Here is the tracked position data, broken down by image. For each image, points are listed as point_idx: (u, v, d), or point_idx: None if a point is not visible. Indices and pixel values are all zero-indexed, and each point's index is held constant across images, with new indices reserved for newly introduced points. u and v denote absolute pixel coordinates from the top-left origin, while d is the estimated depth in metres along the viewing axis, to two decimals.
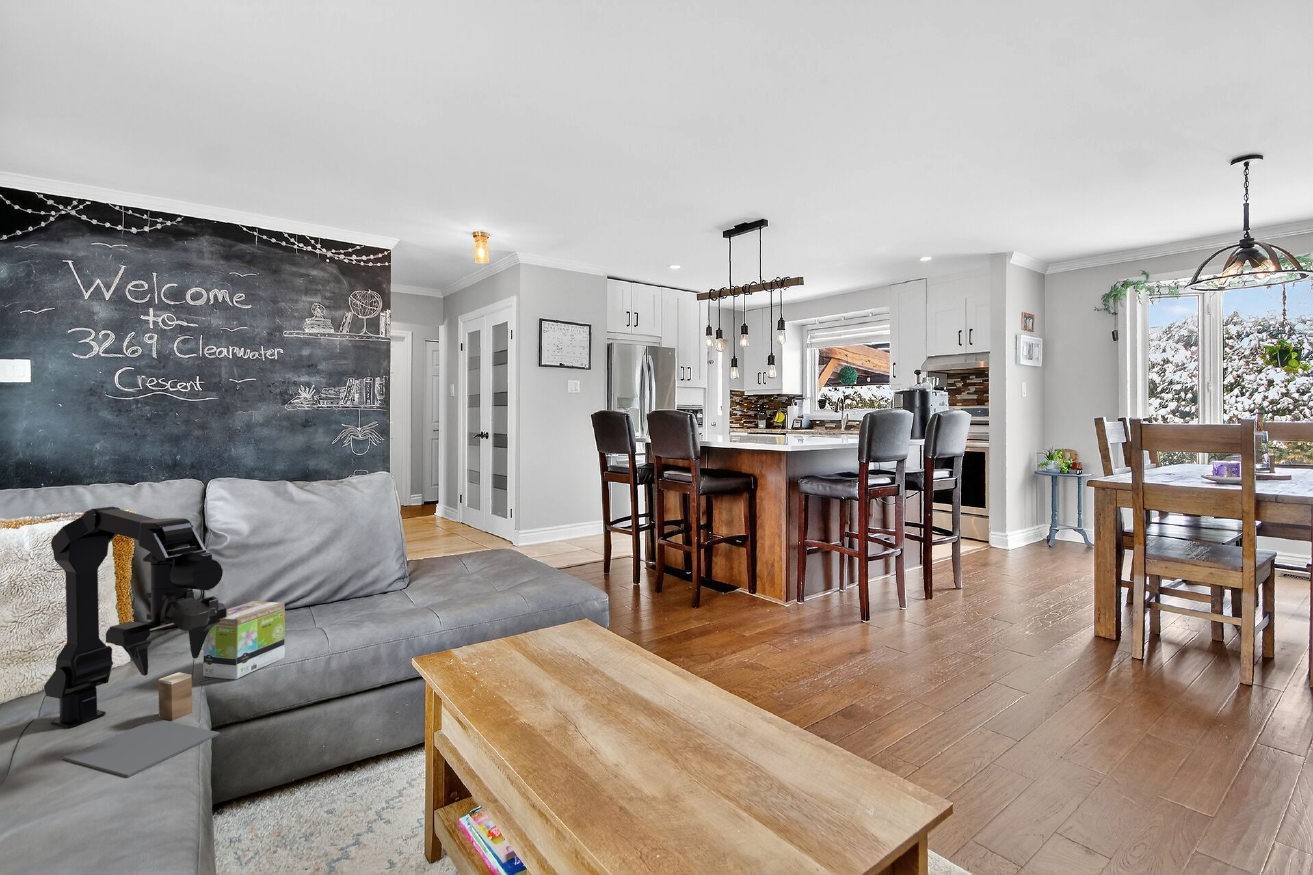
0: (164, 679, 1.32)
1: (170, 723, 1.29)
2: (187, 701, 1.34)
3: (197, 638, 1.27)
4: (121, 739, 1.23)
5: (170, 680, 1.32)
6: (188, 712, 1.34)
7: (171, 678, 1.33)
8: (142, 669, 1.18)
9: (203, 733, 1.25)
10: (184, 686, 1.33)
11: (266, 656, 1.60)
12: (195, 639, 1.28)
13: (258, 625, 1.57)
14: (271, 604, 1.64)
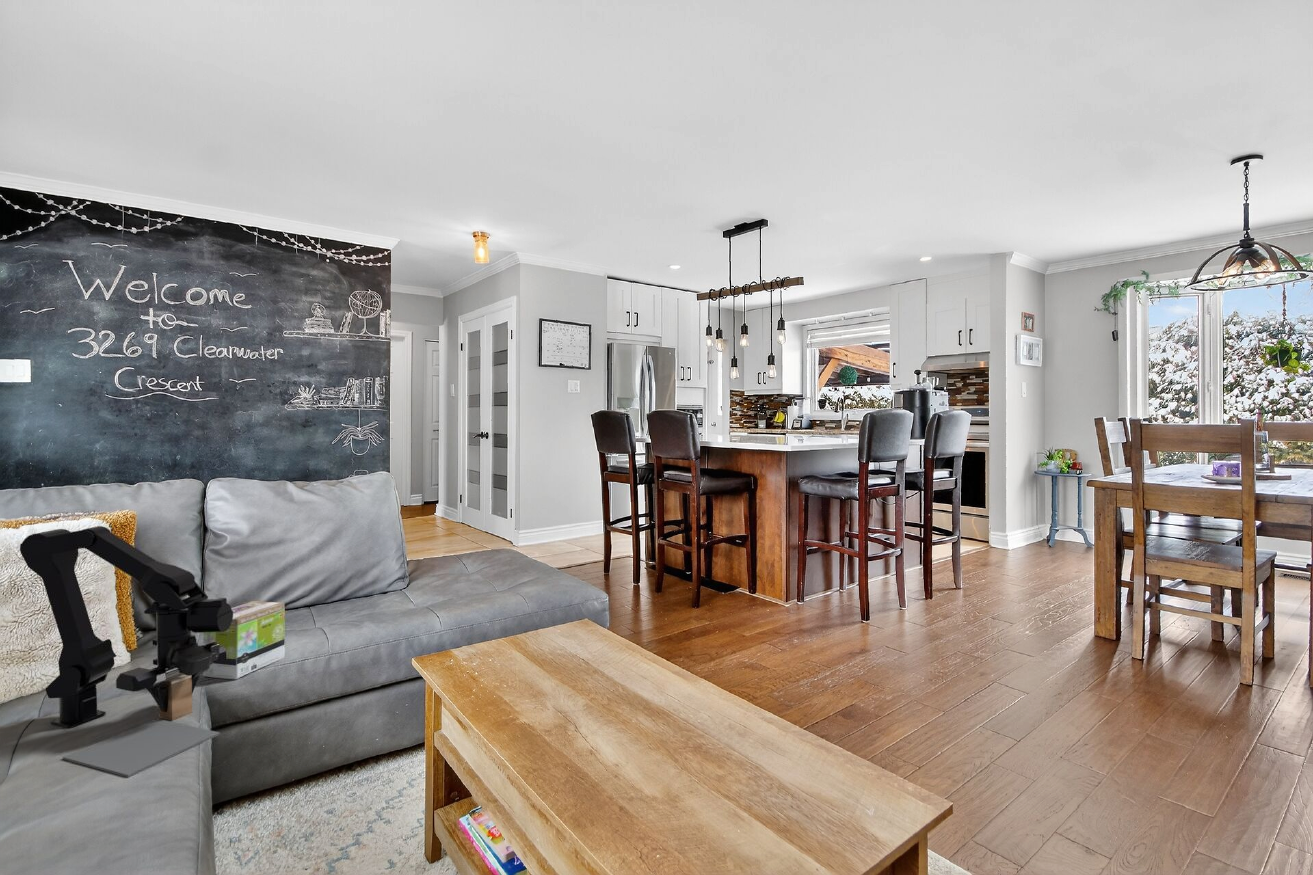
0: None
1: (170, 723, 1.29)
2: (187, 701, 1.34)
3: None
4: (121, 739, 1.23)
5: (170, 680, 1.32)
6: (188, 712, 1.34)
7: (171, 678, 1.33)
8: (162, 706, 1.31)
9: (203, 733, 1.25)
10: (184, 686, 1.33)
11: (266, 656, 1.60)
12: None
13: (258, 625, 1.57)
14: (271, 604, 1.64)
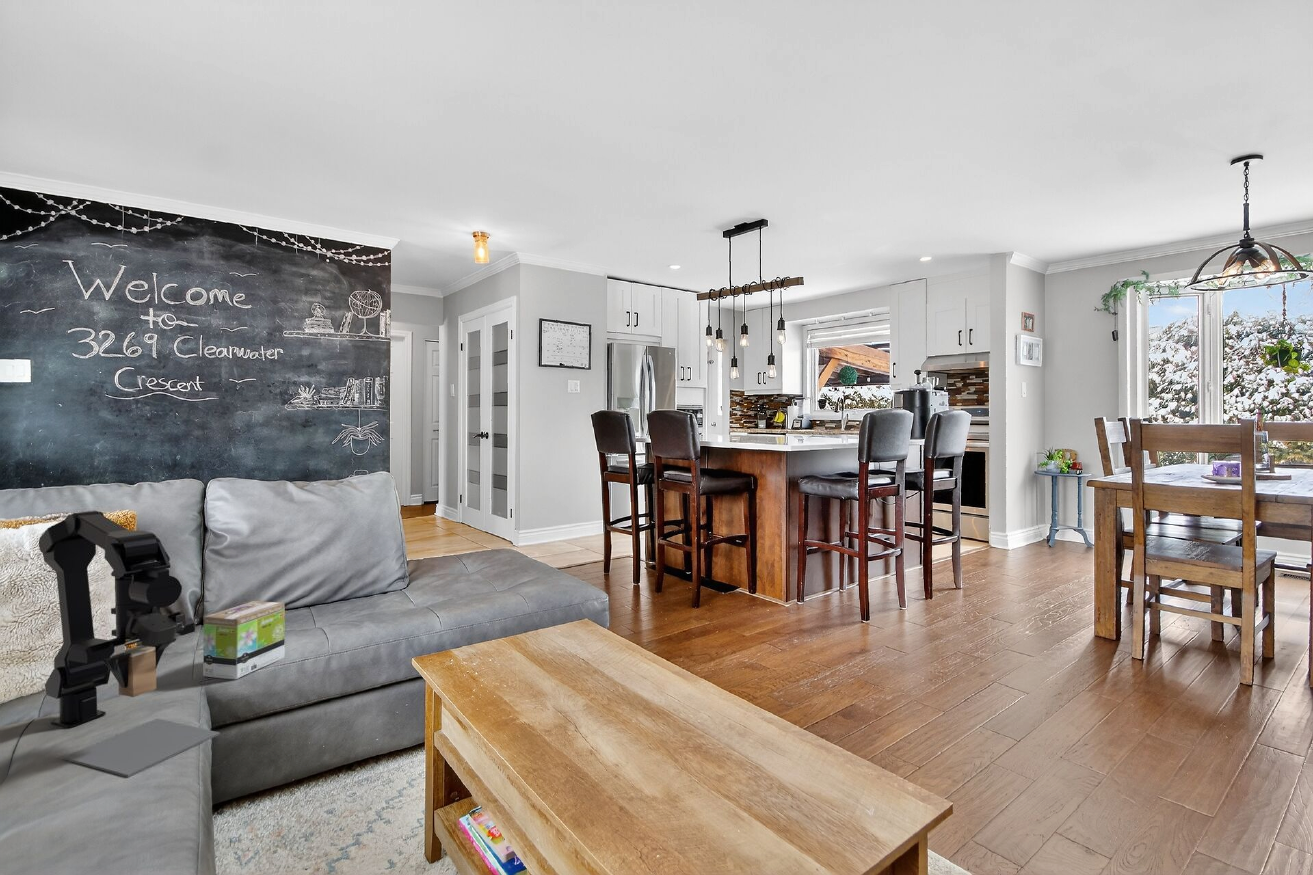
0: (125, 651, 1.20)
1: (170, 723, 1.29)
2: (150, 676, 1.22)
3: None
4: (121, 739, 1.23)
5: (131, 652, 1.19)
6: (151, 688, 1.22)
7: (132, 650, 1.21)
8: (122, 681, 1.19)
9: (203, 733, 1.25)
10: (147, 659, 1.21)
11: (266, 656, 1.60)
12: None
13: (258, 625, 1.57)
14: (271, 604, 1.64)
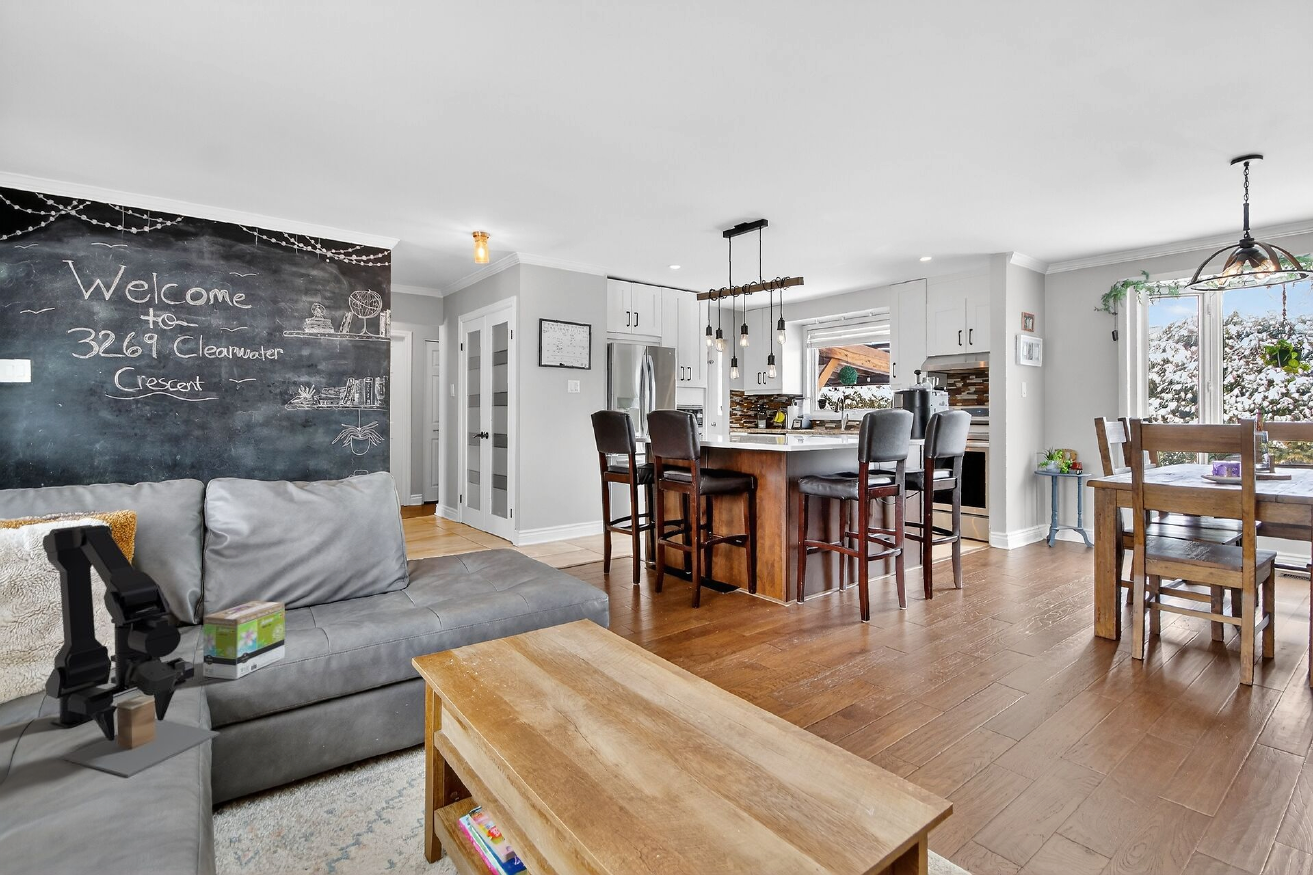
0: (124, 703, 1.20)
1: (170, 723, 1.29)
2: (149, 727, 1.22)
3: (162, 700, 1.25)
4: None
5: (130, 704, 1.19)
6: (150, 739, 1.22)
7: (131, 702, 1.20)
8: (108, 734, 1.17)
9: (203, 733, 1.25)
10: (146, 711, 1.21)
11: (266, 656, 1.60)
12: (160, 701, 1.25)
13: (258, 625, 1.57)
14: (271, 604, 1.64)
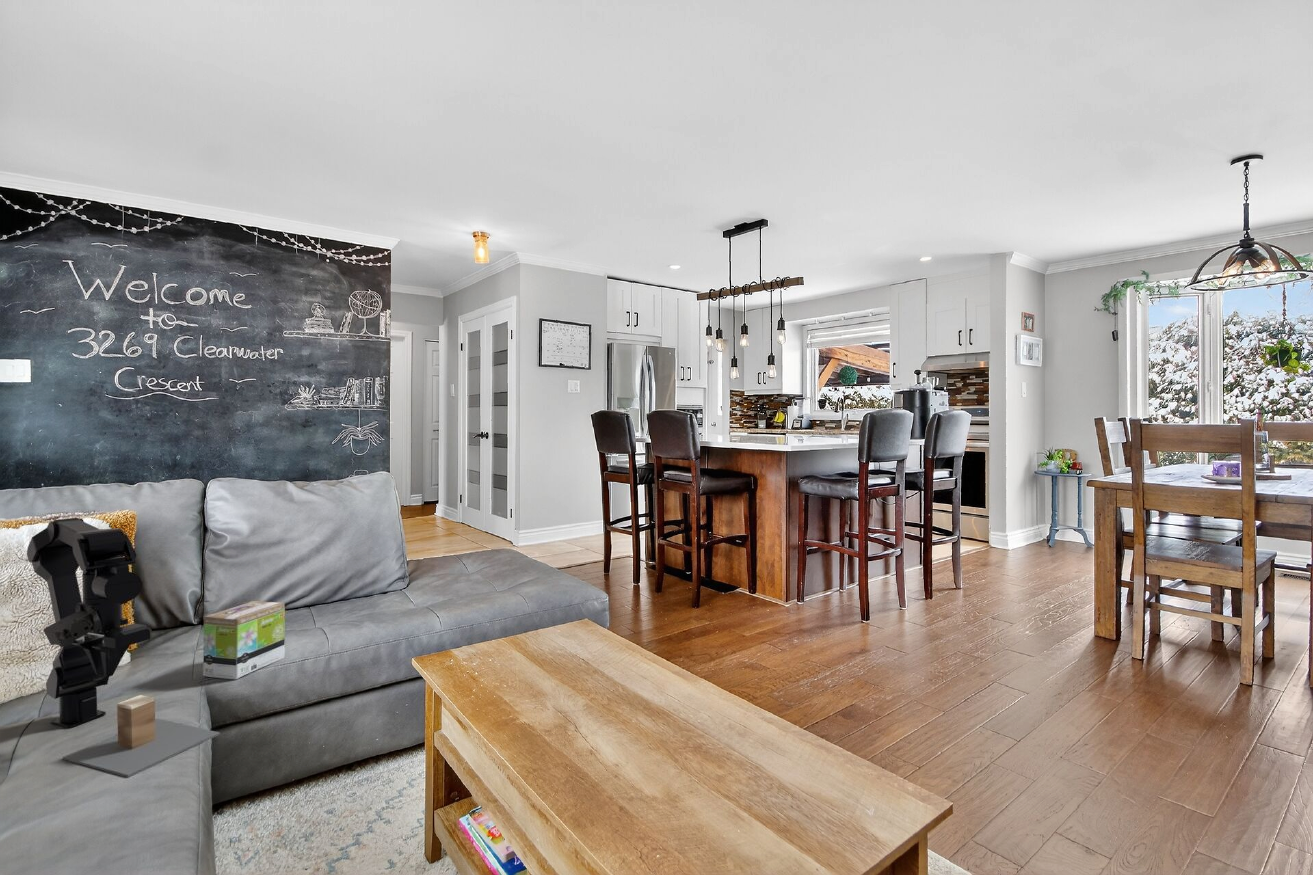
0: (124, 703, 1.20)
1: (170, 723, 1.29)
2: (149, 727, 1.22)
3: None
4: None
5: (130, 704, 1.19)
6: (150, 739, 1.22)
7: (131, 702, 1.20)
8: None
9: (203, 733, 1.25)
10: (146, 711, 1.21)
11: (266, 656, 1.60)
12: None
13: (258, 625, 1.57)
14: (271, 604, 1.64)
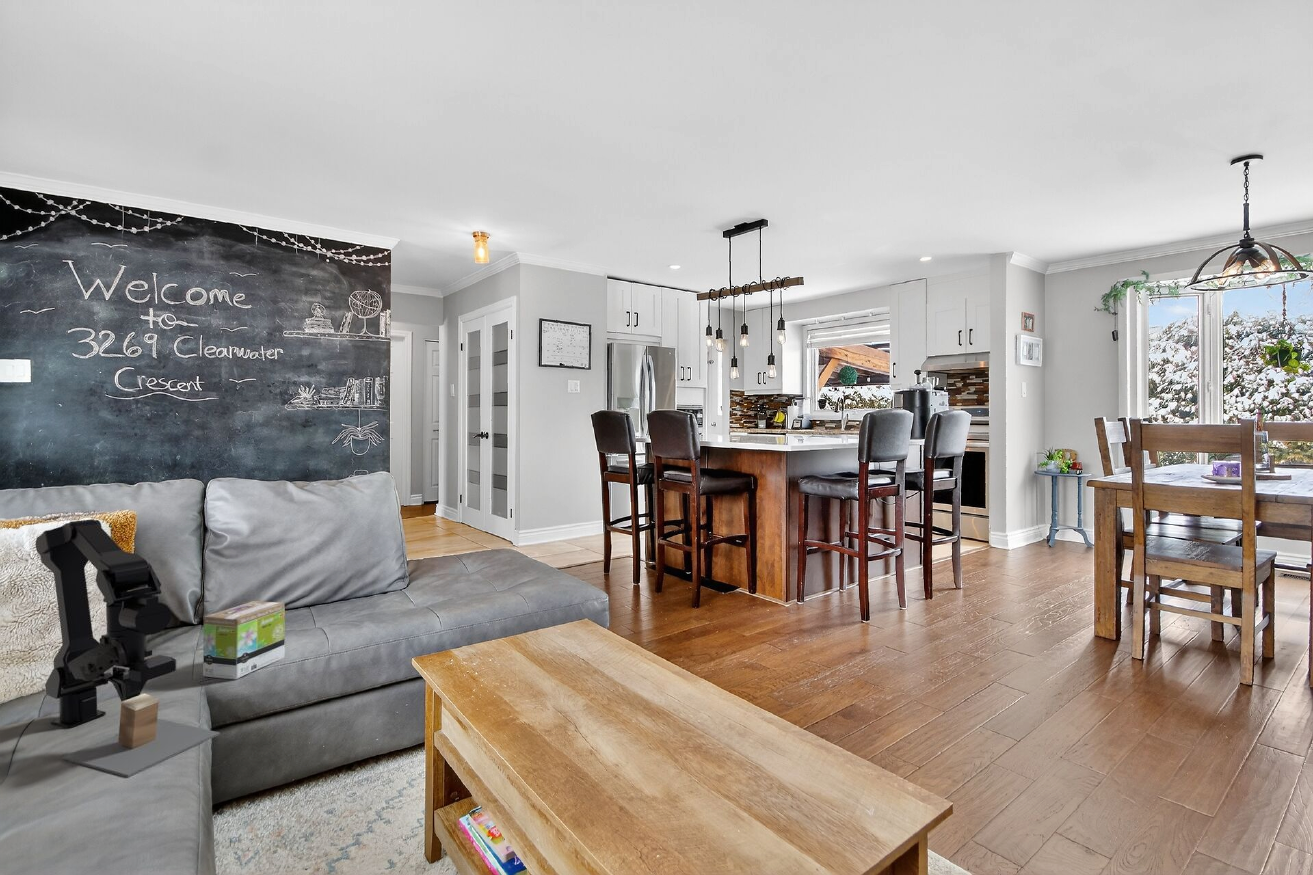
0: (128, 702, 1.20)
1: (170, 723, 1.29)
2: (151, 728, 1.21)
3: None
4: None
5: (134, 705, 1.19)
6: (151, 739, 1.22)
7: (136, 702, 1.20)
8: None
9: (203, 733, 1.25)
10: (149, 712, 1.21)
11: (266, 656, 1.60)
12: None
13: (258, 625, 1.57)
14: (271, 604, 1.64)
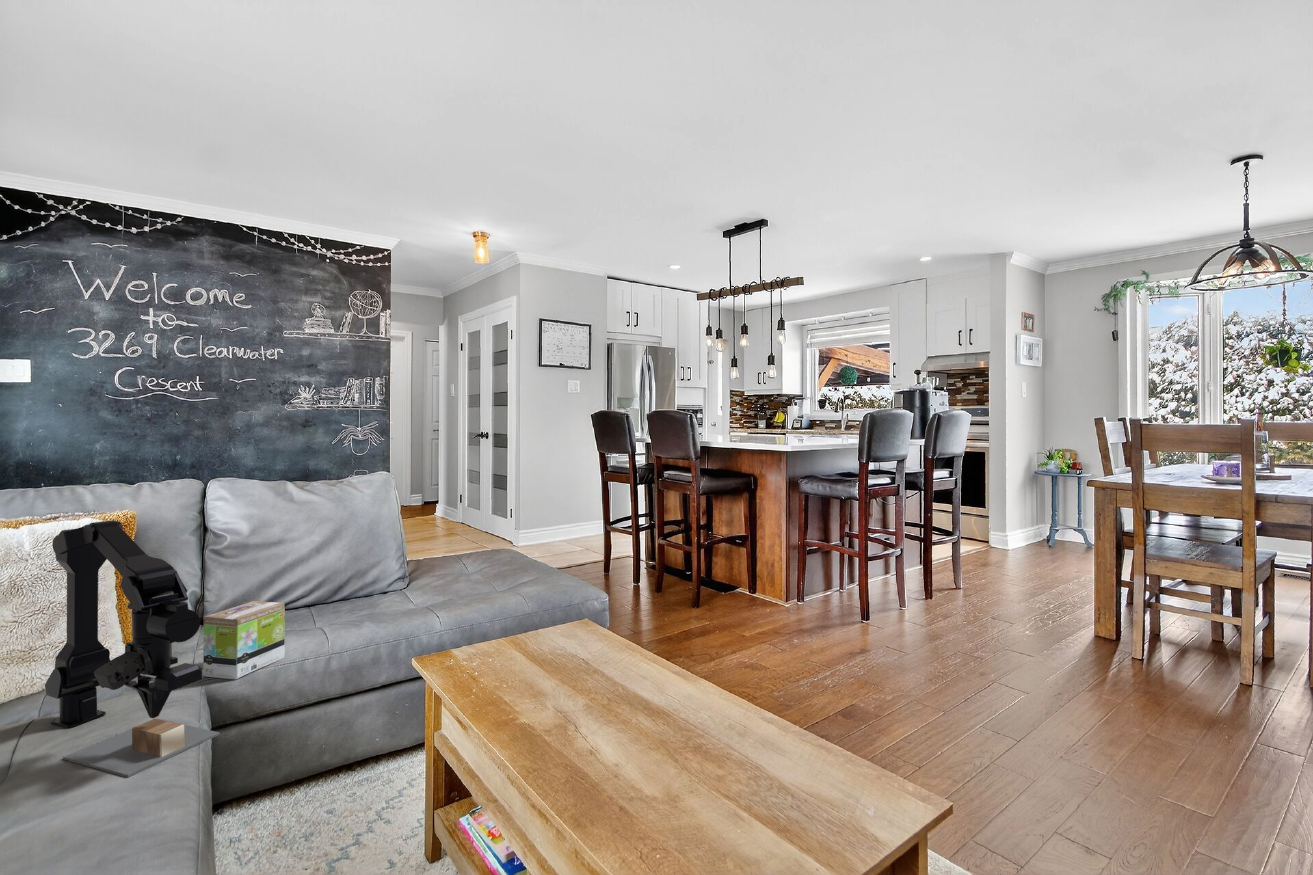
0: (164, 739, 1.17)
1: None
2: None
3: None
4: (121, 739, 1.23)
5: (164, 749, 1.16)
6: None
7: (168, 742, 1.17)
8: None
9: (203, 733, 1.25)
10: None
11: (266, 656, 1.60)
12: None
13: (258, 625, 1.57)
14: (271, 604, 1.64)
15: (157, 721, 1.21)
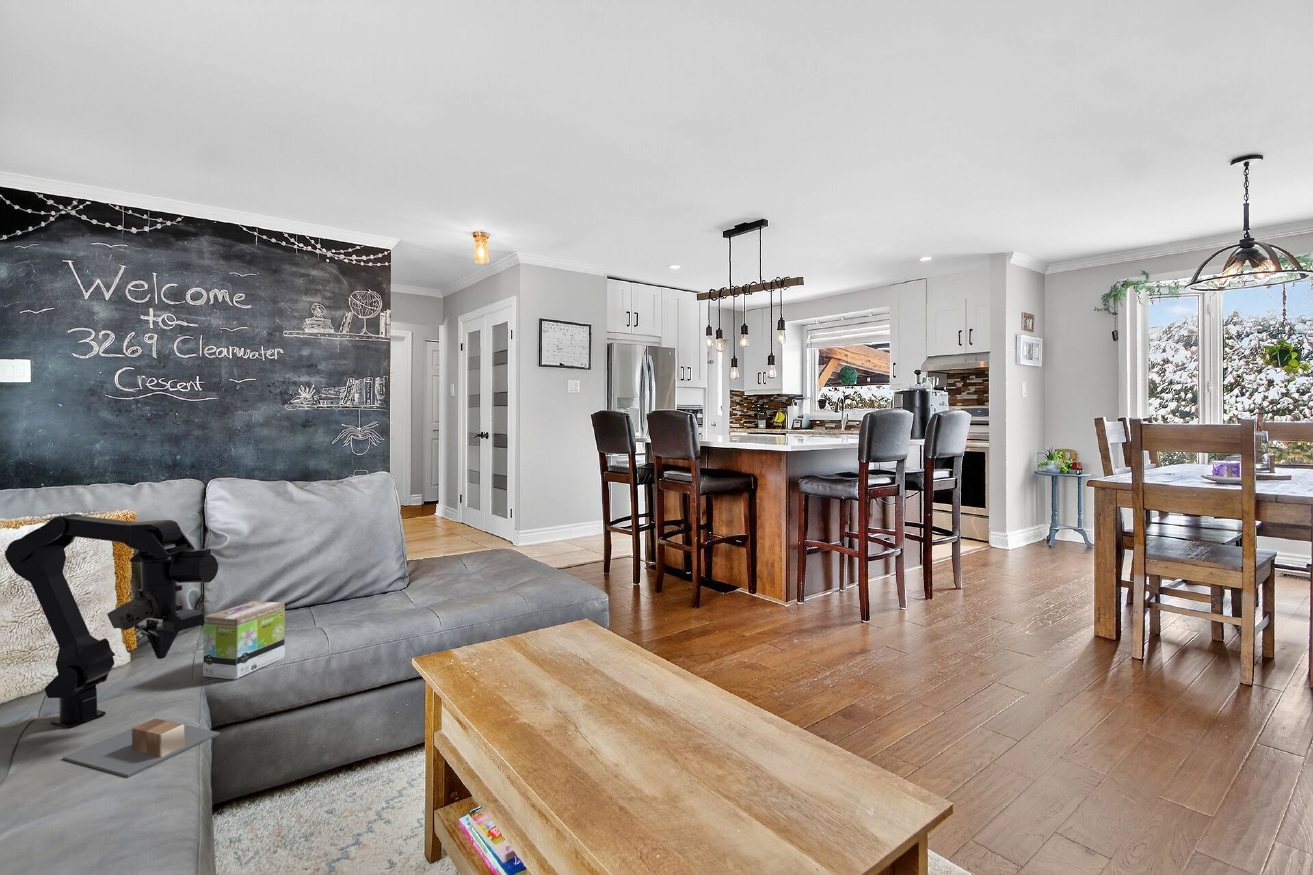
0: (164, 739, 1.17)
1: None
2: None
3: None
4: (121, 739, 1.23)
5: (164, 749, 1.16)
6: None
7: (168, 742, 1.17)
8: None
9: (203, 733, 1.25)
10: None
11: (266, 656, 1.60)
12: None
13: (258, 625, 1.57)
14: (271, 604, 1.64)
15: (157, 721, 1.21)
